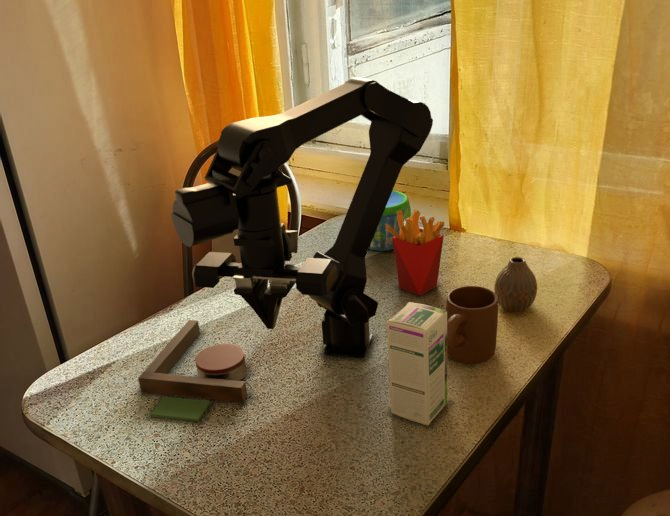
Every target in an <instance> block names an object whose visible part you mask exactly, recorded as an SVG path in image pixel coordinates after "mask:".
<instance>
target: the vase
mask: <svg viewBox="0 0 670 516" xmlns="http://www.w3.org/2000/svg"><path fill="white" fill-rule="evenodd" d="M493 290H494V291H493V292H494V293H495V294H496V295H497V297H498V306H499V307H501V309H503V310H504V311H506V312H509V313H514V314H515V313H523V312H525V311H526V310H528V309H529V308H531V306H532V305H533V304H534V302H535V300H536V297H537V293H538V282H537V278H536V275H535V274H534V272H533V271H532V269H531V268H530V267H529V265H528V263H527V261H526V259H525V258H523V257H520V256H519V257H518V256H515V257H511V258H510V259H509V261H508V263H507V264H506V265H504V267H503V268H501V270H500V271H499V273H498V274H497V276H496V278H495V281H494V289H493Z"/></svg>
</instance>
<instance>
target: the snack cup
mask: <svg viewBox="0 0 670 516" xmlns="http://www.w3.org/2000/svg"><path fill="white" fill-rule="evenodd" d="M399 210H402V212H403V222H404V223H405V220H406V219H407V218H411V215H412V210H411V203H410V199H409V197H408V196H407V195H406V194H405V193H403V192H401V191H397V190H393V191H392V193H391V195H390V198H389V200H388V203H387V205H386V208H385V210H384V213H383V215H382V218H381V220H380V223H379V225H378V227H377V230H376V232H375V235H374V237H373V240H372V242H371V245H370V247H369V250H372V251H381V252H386V251H391V250H394V248H393V241H392V238H393V237H395V236H394V235H393V234H392V233H390V232H389V231H388V230H387V229H386V228H385V227H386V225H387V224H388V225H390V226H391V228H392V229H393V230H395V231H396V232H397V233H398V234H400V227H399V224H398V219H397V211H399Z"/></svg>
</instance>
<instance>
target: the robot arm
mask: <svg viewBox="0 0 670 516" xmlns="http://www.w3.org/2000/svg"><path fill="white" fill-rule="evenodd" d="M360 116H361V117H362V118H364V119H366V120H368V121H369V122H370V125H369V128H368V138H369V139H368V141H369V149H370V154H369V156H368V159H367V162H366V164H365V166H364V169H363V171H362V173H361V174H362V175H361V177H360V179H359V181H358V184H357V186H356V189H355V191H354V194H353V196H352V198H351V201H350V204H349V207H348V209H347V210H346V211H347V212H346V214H345V217H344V219H343V221H342V224H341V226H340V228H339V231H338V233H337V236H336V239H335V241H334V243H333V245H332V246H331V247H330V248H329V249H328V250H326V251H325V252H324V253H322V252H320V251H316V252H315V253H314V254H313V256H312V257H307V258H306V259H305V260H304V262H303V263H302V264H301V266H296V265H295V264H288V263H286V262H290V261H291V260H292V259H293V253H294V254H298V250H299V249H298V248H299V230H293V229H292V230H291V229H287V228H286V225H285V222H282V221H281V212H280V203H279V196H278V195H279V193H278V188H280V187H285V186H287V185H291V184H292V182H293V180H292V178H291V177H289V176H287V175H286V174H284V173H283V171H282V170H280V168H281V167H283V166H284V165H285V164H286V163H288V162H289V161H290V159H291V158H292V156H293V154H294V153H295V151H296V150H298V149H299V148H300V147H301V146H303V145H304V144H306V143H309V142H310V141H313V140H314V139H316V138H318V137H321V136H322V135H325V134H326V133H328V132H330V131H332V130H334V129H336V128H338V127H340V126H342V125H344V124H347V123H349V122H350V121H352V120H354V119H357V118H358V117H360ZM433 124H434V119H433V117H432V113H431V109H430V108H429V106H428V105H427V104H426V103H425V102H422V101H418V100H413V99H408V98H406V97H404V96H402V95H400V94H397V92H394V91H392V90H390V89H388V88H386V87H385V86H383V85H382V84H380V82H378V81H377V80H373V79H370V78H369V79H368V78H363V77H357V76H355V77H351V78H349V79H347V80H346V81H345V82H344V83H343V84H340V85H338V86H337V87H334V88H332V89H330V90H328V91H326V92H323V93H321V94H319V95H317V96H315V97H313V98H310V99H309V100H307V101H304V102H302V103H300V104H298V105H295V106H294V107H291V108H289V109H287V110H285V111H283V112H281V113H278V114H274V115H267V116H266V115H265V116H258V117H257V116H256V117H251V118H246V119H243V120H242V119H241V120H239V121H235V122H234V121H233V122H231V123H229V124H228V125H226V126H225V127H224V128H223V129H222V130H221V132H220V136H219V138H218V144H217V150H216V152H215V153H214V156H213V158H212V160H211V163H210V164H209V166H208V169H207V171H206V173H205V176H204V180H205V181H206V182H207V183H203V184H199V185H196V186H191V187H181V188H178V189H176V190H174V195H175V200H174V201H173V202H172V209H171V210H172V212H171V213H170V216H171V220H172V224H173V228H174V230H175V232H176V235H177V236H178V238H179V240H180V241H181V243H182V244H183V245H184V246H186V247H188V248H190V247H194V246H198V245H200V244H203V243H204V244H205V243H206V242H209V241H213V240H216V239H219V238H222V237H226V236H228V235H231V234H233V233H234V231H236V235H235V236H234V237H233V246H234V247H238V249H239V255H240V262H237V259H236V255H234V254H233V253H232V252H216V251H209V252H208V253H207V254H205V256H204V257H203V258H201V259H200V260H199V261H198V262H197V263H196V264H195V265H194V266H193V268H192V272H191V277H192V282H193V286H194V287H195V288H206V289H207V288H209V289H214V288H215V287H216V286H218V284H219V283H220V282H221V280H220V277H226V278H229V277H230V278H232V279H233V280H234V283H235V288H234V289H233V293H234V295H236V296H240V297H241V298H242V299H243V300H244V301H245V302H246V304H248V306H249V307H250V308H251V309H252V310H253V311H254V313H255V314H256V316H257V317H258V318H259V319H260V321H261V322H262V323H263V325H264V326H265V327H266V329H268V330H274V329H275V327H276V325H277V322H278V317H279V314H280V309H281V305H282V301H283V299H284V298H286V297H287V296H288V294H289V293H290V291H292V289H293V287H294V286H295V288H296V290H297V291H298V292H299V293H300V294H301V295H302V296H309V298H310V299H311V300H312V301H314V302H315V303H316V305H317V306H318V307H319V308H323V309H324V310H325V311H324V313H323V319H322V320H321V322H320V323H321V335H322V343H323V345H325V346H324V348H323V354H324V355H329V356H339V357H353V358H364V357H366V355H367V353H368V350H369V347H370V344H371V342H372V339H373V333H371V332H370V319H371V318H373V317H375V316H376V314H377V311H378V307H379V302H378V301H377V300H375V299H374V298H372V297H371V296H369V295H367V294H366V293H365V289H366V286H367V283H368V282H367V281H368V273H367V264H366V258H367V254H368V252H369V250H370V249H369V247H370V245H371V242H372V240H373V237H374V235H375V232H376V230H377V227H378V225H379V223H380V220H381V218H382V215H383V213H384V210H385V208H386V205H387V203H388V200H389V198H390V195H391V193H392V191H394V189H395V185H396V184H397V180H398V177H399V175H400V173H401V171H402V168H403V167H404V165H406V164H407V163H408V162H409V161H411V159H413V158H414V157H415V156H416V155H418V154H419V152H420V151H421V150H422V147H423V146H424V144H425V142H426V140H427V139H428V137H429V135H430V134H431V131H432V128H433ZM231 169H234V170H236V171H239V172H240V174H239V175H237V174H234V173H231V172H230V171H231Z"/></svg>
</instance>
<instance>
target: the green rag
mask: <svg viewBox="0 0 670 516" xmlns="http://www.w3.org/2000/svg"><path fill="white" fill-rule="evenodd" d="M210 406H211V401H210V400H202V399H201V400H199V399H191V398H182V397H171V396H163V397H162V398H161V400H160V401H159V403H158V404H157V405H156V406H155V408H154V409H153V410H152V411H151V413H150V417H153V418H161V419H162V418H163V419H170V420H181V421H190V422H199V421H200V420H201V419H202V417H203V415H204V414H205V412H206V411H207V410H208V408H209V407H210Z"/></svg>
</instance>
